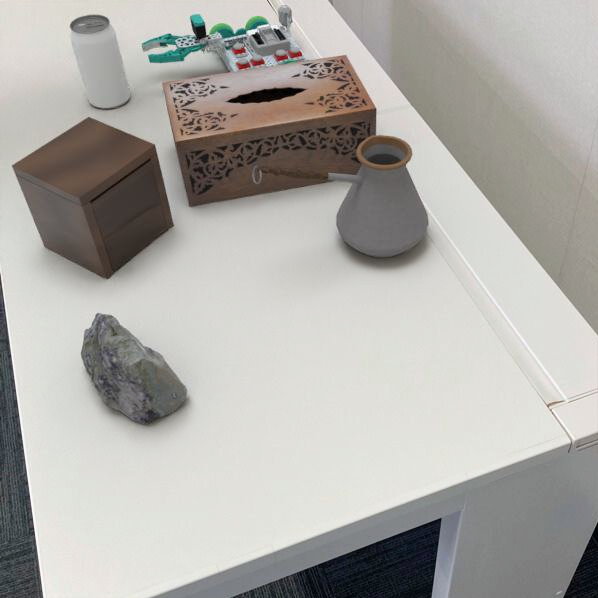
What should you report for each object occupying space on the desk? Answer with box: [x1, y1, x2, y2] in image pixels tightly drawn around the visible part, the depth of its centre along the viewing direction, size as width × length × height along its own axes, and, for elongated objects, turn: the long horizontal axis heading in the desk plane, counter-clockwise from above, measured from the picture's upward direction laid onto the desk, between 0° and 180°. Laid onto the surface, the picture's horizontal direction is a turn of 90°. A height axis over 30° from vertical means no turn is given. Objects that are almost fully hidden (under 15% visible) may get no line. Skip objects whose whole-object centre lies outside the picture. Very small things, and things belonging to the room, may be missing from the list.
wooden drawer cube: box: [11, 116, 175, 280], centre depth 94 cm, size 11×12×12 cm
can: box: [69, 13, 131, 110], centre depth 115 cm, size 6×6×12 cm
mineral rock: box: [80, 312, 188, 425], centre depth 79 cm, size 13×11×10 cm
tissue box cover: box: [161, 54, 377, 208], centre depth 105 cm, size 26×14×10 cm, turn 106°
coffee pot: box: [252, 134, 430, 258], centre depth 91 cm, size 21×12×15 cm, turn 113°
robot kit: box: [141, 4, 310, 72], centre depth 121 cm, size 19×25×9 cm
